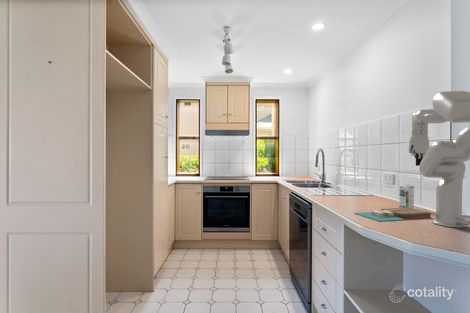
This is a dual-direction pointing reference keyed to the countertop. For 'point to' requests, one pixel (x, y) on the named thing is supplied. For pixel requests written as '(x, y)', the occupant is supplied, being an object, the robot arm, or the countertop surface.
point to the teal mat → (369, 215)
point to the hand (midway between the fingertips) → (419, 165)
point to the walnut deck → (408, 213)
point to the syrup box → (406, 196)
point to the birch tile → (382, 213)
